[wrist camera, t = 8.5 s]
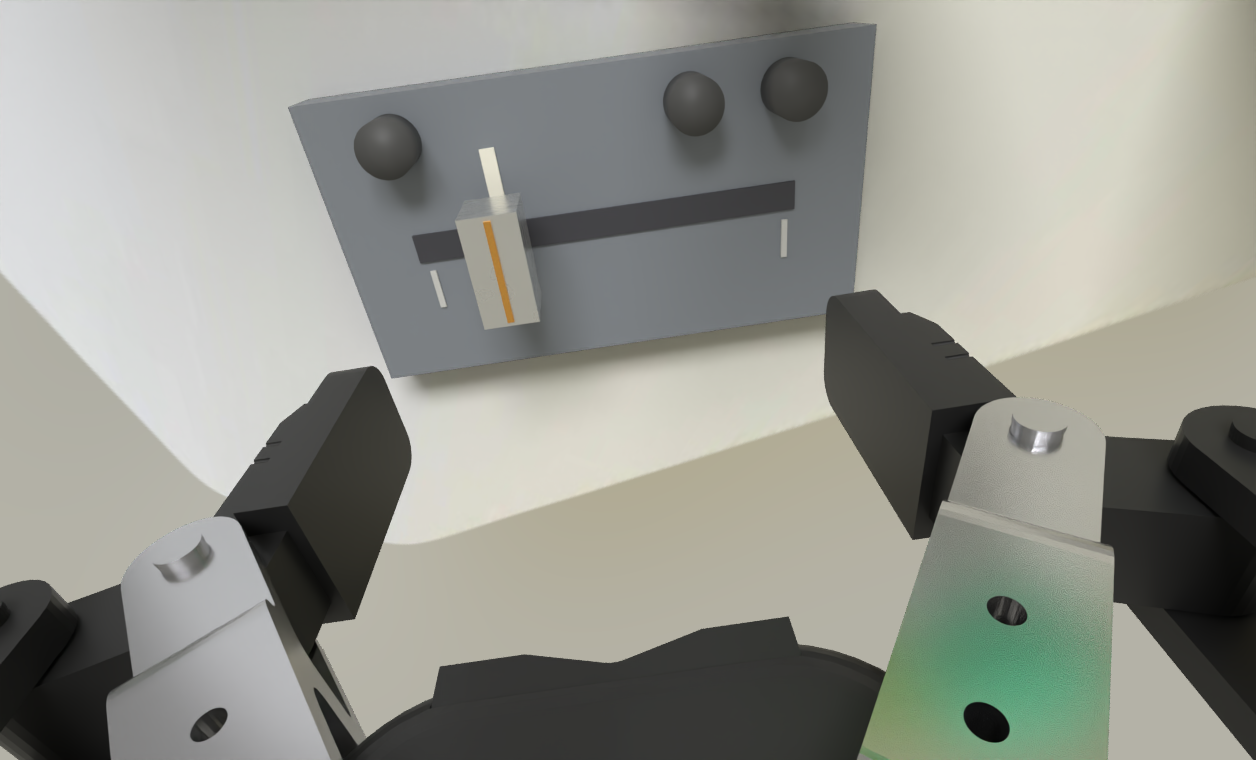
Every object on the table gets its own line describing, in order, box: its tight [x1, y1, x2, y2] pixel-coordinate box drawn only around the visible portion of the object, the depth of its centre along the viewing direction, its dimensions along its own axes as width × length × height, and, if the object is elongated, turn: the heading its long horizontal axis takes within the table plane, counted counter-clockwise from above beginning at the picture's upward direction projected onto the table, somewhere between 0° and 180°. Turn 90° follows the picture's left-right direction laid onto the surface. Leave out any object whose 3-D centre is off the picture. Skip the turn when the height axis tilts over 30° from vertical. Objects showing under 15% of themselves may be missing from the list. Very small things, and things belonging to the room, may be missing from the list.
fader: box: [455, 193, 542, 330], centre depth 28 cm, size 2×5×5 cm, turn 7°
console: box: [288, 23, 877, 378], centre depth 31 cm, size 26×14×4 cm, turn 97°
